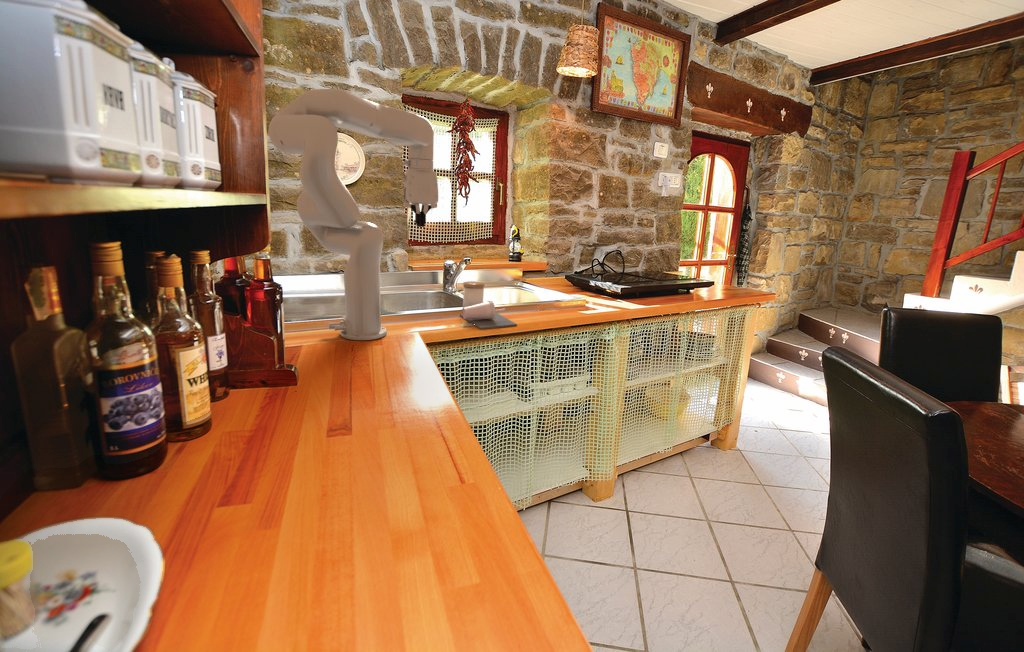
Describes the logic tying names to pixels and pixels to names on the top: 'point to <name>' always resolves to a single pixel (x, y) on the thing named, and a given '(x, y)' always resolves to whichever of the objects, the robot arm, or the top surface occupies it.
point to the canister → (472, 293)
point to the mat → (491, 322)
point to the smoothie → (480, 311)
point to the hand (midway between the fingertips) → (420, 226)
